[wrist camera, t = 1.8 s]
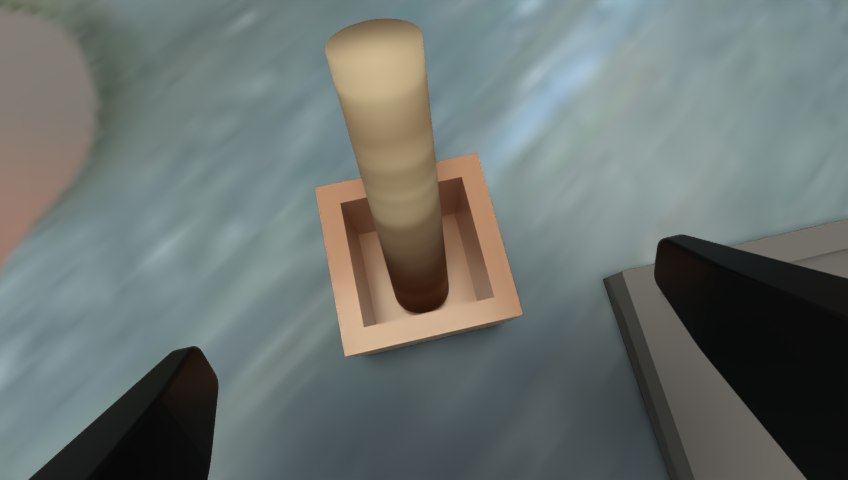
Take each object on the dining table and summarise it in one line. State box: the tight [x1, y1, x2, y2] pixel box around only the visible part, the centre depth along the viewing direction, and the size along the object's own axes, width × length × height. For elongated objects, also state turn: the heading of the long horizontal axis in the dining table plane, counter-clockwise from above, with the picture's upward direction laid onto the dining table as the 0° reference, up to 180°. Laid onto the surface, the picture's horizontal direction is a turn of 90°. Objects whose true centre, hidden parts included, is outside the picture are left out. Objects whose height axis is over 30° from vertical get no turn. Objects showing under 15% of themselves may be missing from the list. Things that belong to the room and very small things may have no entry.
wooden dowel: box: [325, 19, 449, 313], centre depth 15 cm, size 6×2×11 cm, turn 13°
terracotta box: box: [315, 153, 523, 357], centre depth 18 cm, size 6×6×5 cm
